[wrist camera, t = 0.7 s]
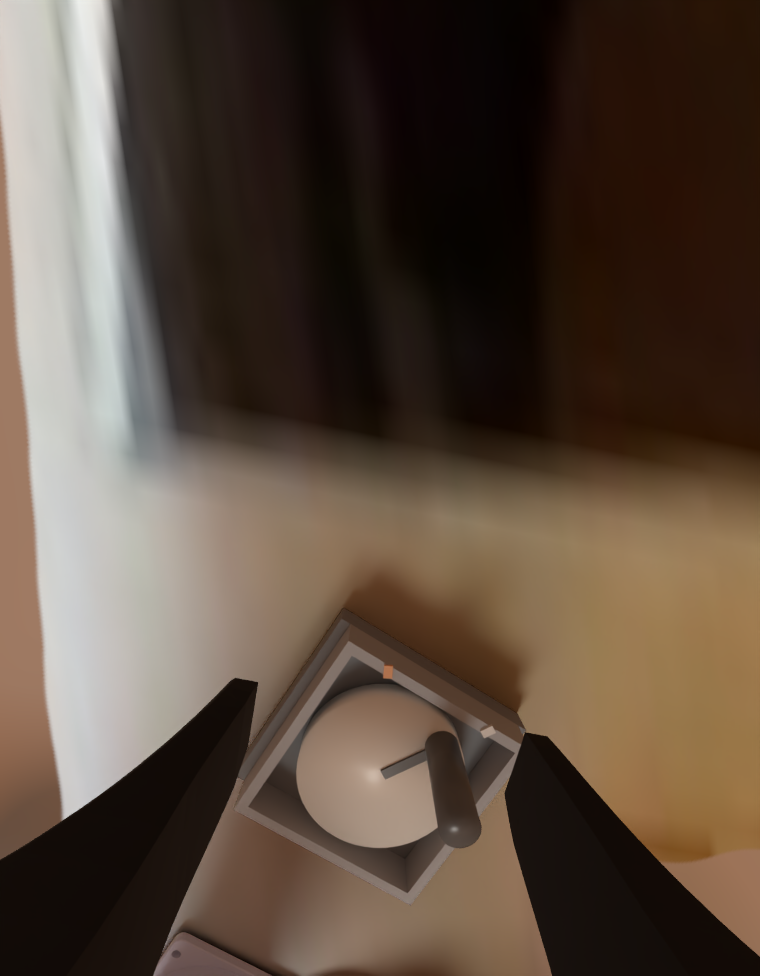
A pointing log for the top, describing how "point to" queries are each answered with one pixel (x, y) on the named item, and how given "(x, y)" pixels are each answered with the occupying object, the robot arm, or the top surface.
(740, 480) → the top surface
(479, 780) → the dial plate
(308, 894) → the top surface
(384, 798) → the dial
